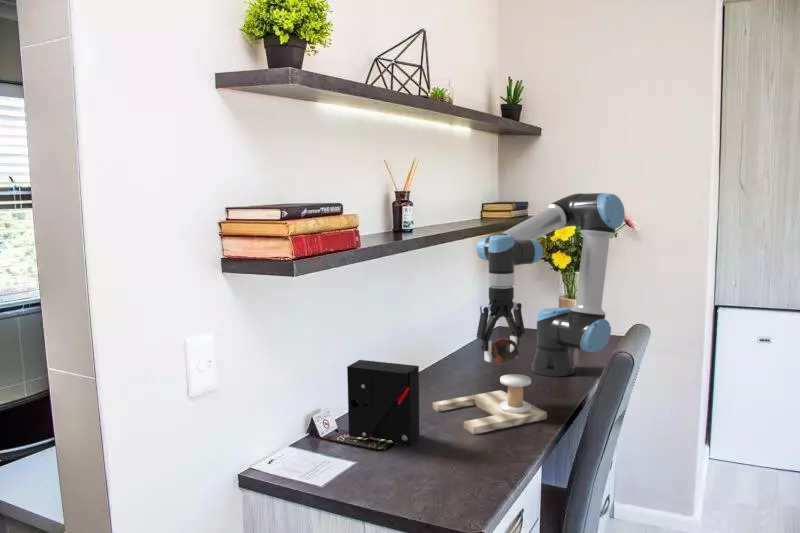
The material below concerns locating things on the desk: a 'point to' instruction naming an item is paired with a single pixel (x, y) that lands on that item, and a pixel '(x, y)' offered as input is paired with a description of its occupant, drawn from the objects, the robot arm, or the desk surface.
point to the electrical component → (383, 401)
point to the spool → (515, 393)
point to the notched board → (492, 406)
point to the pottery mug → (503, 350)
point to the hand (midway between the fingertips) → (500, 359)
